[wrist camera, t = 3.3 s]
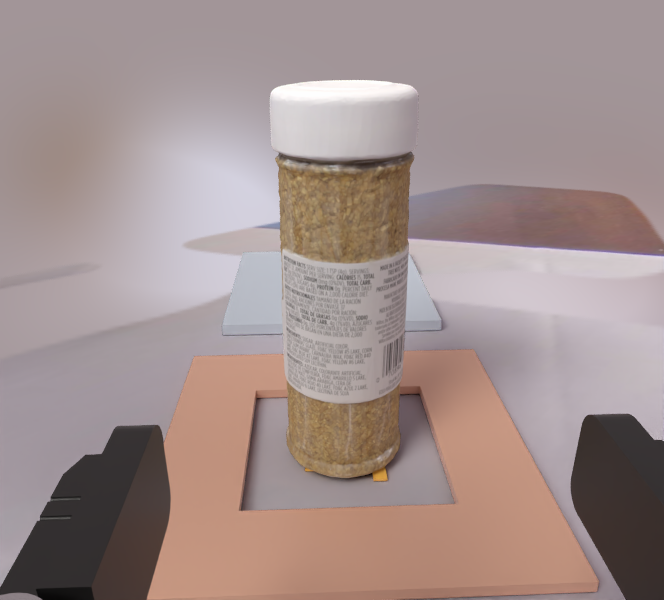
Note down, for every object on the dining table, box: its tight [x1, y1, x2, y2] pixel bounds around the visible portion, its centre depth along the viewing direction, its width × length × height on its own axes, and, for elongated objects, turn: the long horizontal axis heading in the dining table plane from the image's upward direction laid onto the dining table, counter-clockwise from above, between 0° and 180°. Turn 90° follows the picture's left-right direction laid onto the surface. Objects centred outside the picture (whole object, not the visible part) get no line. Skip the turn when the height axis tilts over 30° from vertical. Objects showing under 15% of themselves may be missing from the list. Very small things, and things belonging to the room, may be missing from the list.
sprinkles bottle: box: [270, 80, 419, 478], centre depth 21 cm, size 5×5×13 cm
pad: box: [222, 252, 442, 335], centre depth 38 cm, size 12×12×1 cm
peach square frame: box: [147, 349, 599, 600], centre depth 23 cm, size 14×14×1 cm
